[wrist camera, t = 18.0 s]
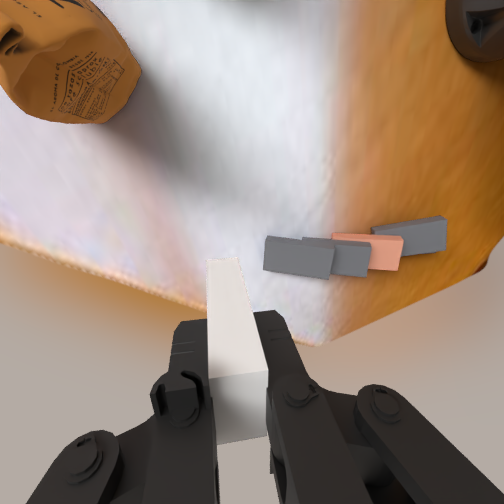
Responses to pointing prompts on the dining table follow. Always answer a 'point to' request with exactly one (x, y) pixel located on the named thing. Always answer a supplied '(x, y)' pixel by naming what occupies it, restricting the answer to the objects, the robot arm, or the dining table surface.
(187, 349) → the robot arm
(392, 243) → the domino
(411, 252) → the domino
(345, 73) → the dining table surface
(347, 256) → the domino
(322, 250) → the domino
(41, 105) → the coffee package
